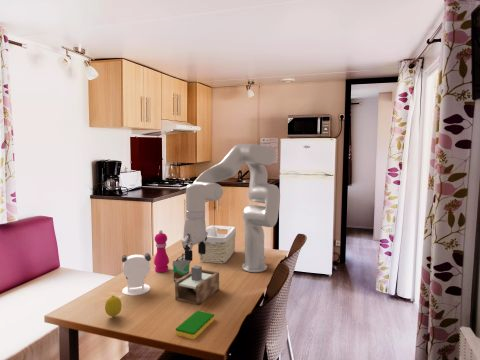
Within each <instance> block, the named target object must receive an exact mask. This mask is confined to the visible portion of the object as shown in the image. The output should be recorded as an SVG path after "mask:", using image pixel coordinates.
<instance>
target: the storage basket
mask: <svg viewBox="0 0 480 360" xmlns="http://www.w3.org/2000/svg"><path fill="white" fill-rule="evenodd" d="M218 231H222V232H223V231H224V232H227V233H218ZM206 232H208V235H207V240H206V244H205V245H206V253H205V254H199V253H198V256H199V261H200V262H202V263H211V264H212V263H213V264H225V263H227V262H228V260H229V259H230V258H231V257H232V255H233V254H234V252H235V247H236V234H237V228H236V227H235V226H229V225H228V226H227V225H209V226H208V227H206ZM198 244H200V243H198ZM198 244H197V245H198Z"/></svg>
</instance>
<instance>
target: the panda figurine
mask: <svg viewBox="0 0 480 360" xmlns="http://www.w3.org/2000/svg"><path fill="white" fill-rule="evenodd" d="M151 260H152V257H151V254H150V252H149V253H148V252H147V253H145V254H131V255H129V256H127V255H126V254H125V255H122V256H121V262H122V273H123V275H124V276H125V278H126V280H127V285H126V286H125V287H124V288H122V291H121V293H122V295H126V296H133V297H134V296H140V295H143V294H146V293H147V292H148V293H149V291H150V289H151V287H150V285H149V284H147V283H145V278H146V276H148V275H149V273H150V272H151V271H150V270H151V264H150V261H151Z"/></svg>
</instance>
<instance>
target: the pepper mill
mask: <svg viewBox="0 0 480 360" xmlns="http://www.w3.org/2000/svg"><path fill="white" fill-rule="evenodd" d="M167 240H168V235H167V234H166V233H164V232H163V230H158V233H157V234H155V236H154V241H155V247H156V253H155V255H154V259H153V264H154V266H155V267H154V270H155V272H156V273H165V272H168V271H169V264H170V258H169V255H168V254H167V252H166V251H167V250H166V247H167V242H168V241H167Z"/></svg>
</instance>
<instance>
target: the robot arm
mask: <svg viewBox="0 0 480 360" xmlns="http://www.w3.org/2000/svg"><path fill="white" fill-rule="evenodd" d="M276 159H277V153H276V151H275V149H274V148H273V147H272V146H268V145H261V144H256V143H238V144H236V145H234V146H233V147H232V148H231V149H230V150H229V151H228V153H227V154H226V155H225V156H224V157H223V159H222V160H221V161H220V162H219V163H216V164H215V165H213V166H212V167H209V168H208V169H206V170H204V171H203V172H202V173H200V174H199V176H198V177H197V178H196V179H195V180H194V181H193V183H189V184H187V185H186V186H185V220H184V225H183V238H182V241H181V244H182V248H183V250H184V253H185V260H189V261H191V262H192V261H193V247H194V246H195V245H197V247H198V248H197V251H198V255H199V254H205V253H206V245H205V244H206V240H207V235H208V232H206V228H207V225H206V202H217V201H219V200H220V199H221V198H222V196H224V188H223V187H222V185H220V184H219V183H218V182H221V181H225V180H228V179H231V178H233V177H235V176H236V175H237V173H238V172H239V171H240V169H241V168H242V167H243V166H244V164H246V165H247V166H248V169H249V172H250V176H249V177H250V178H249V185H248V195H247V196H248V199H249V201H251V202H253V203H256V204H250V205H246V206H245V207H244V209H243V212H242V220H243V224H244V225H243V226H244V263H242V265H241V269H242V270H243V271H244V272H249V273H262V272H264V271H266V270H267V269H268V264H266V263H265V260H266V256H265V231H264V228H263V227H265V228H273V227H275V226H276V225H277V222H278V218H279V213H280V212H279V211H280V202H281V201H280V200H281V192H280V189H279V187H278V186H277V185H275V184H272V183H271V184H270V183H268V178H269V177H268V175H269V174H268V170H267V168H266V167H265V166H270V165H273V163H275V161H276ZM257 203H259V204H265V206H264V205H258V204H257ZM198 243H200V244H198Z"/></svg>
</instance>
